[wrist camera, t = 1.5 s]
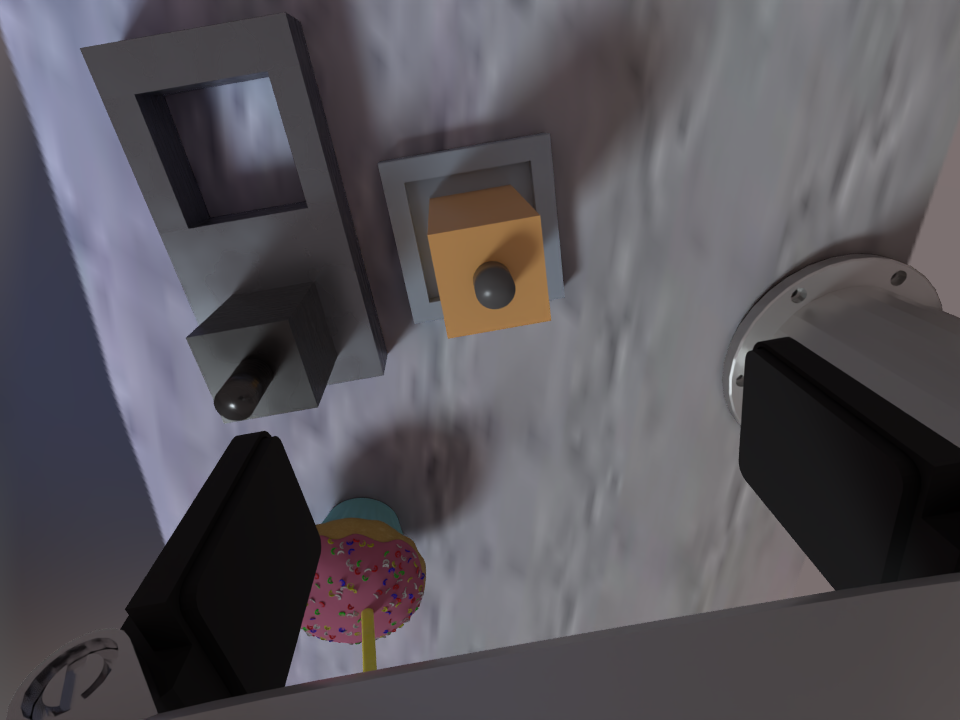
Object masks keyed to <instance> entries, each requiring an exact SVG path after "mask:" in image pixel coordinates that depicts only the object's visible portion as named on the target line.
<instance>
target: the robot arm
mask: <svg viewBox="0 0 960 720" xmlns="http://www.w3.org/2000/svg"><path fill="white" fill-rule="evenodd" d="M722 384H723V393H724V398H725V401H726V404H727V406H728V409H729V411H730V413H731V414H732V416H733V417H734V419H735V420H736V421H737V423H738V424H739V425H740V426H741V431H740V447H739V467H740V471H741V473H742V475H743V477H744V479H745V480H746V482H747V483H748V484H749V485H750V486H751V488H752V489H753V490H754V491H755V493H756V494H757V495H758V496H759V497H760V499H761V500H762V501H763V502H764V504H765V505H766V506H767V507H768V509H769V510H770V511H771V512H772V513H773V515H774V516H775V517H776V518H777V520H778V521H779V522H780V523H781V524H782V526H783V527H784V528H785V529H786V531H787V532H788V533H789V534H790V535H791V537H792V538H793V539H794V540H795V542H796V543H797V544H798V545H799V547H800V548H801V549H802V550H803V551H804V553H805V554H806V555H807V556H808V557H809V559H810V560H811V561H812V562H813V564H814V565H815V566H816V567H817V569H818V570H819V571H820V572H821V574H822V575H823V576H824V577H825V578H826V580H827V581H828V582H829V583H830V585H831V586H832V587H833V588H834V589H835V591H831V592H826V593H819V594H813V595H808V596H801V597H795V598H789V599H783V600H777V601H771V602H765V603H759V604H753V605H747V606H741V607H735V608H729V609H723V610H717V611H711V612H706V613H700V614H694V615H688V616H682V617H676V618H670V619H664V620H658V621H652V622H647V623H641V624H635V625H629V626H623V627H617V628H612V629H606V630H600V631H594V632H588V633H583V634H577V635H571V636H565V637H560V638H554V639H548V640H542V641H537V642H531V643H525V644H519V645H514V646H508V647H502V648H496V649H491V650H485V651H479V652H473V653H468V654H462V655H457V656H451V657H446V658H440V659H434V660H429V661H423V662H418V663H412V664H406V665H401V666H395V667H390V668H384V669H379V670H373V671H367V672H362V673H356V674H351V675H345V676H339V677H334V678H328V679H323V680H317V681H312V682H307V683H302V684H297V685H292V686H287V687H285V684H286V680H287V676H288V673H289V669H290V665H291V662H292V658H293V654H294V651H295V647H296V643H297V640H298V636H299V632H300V629H301V625H302V621H303V618H304V614H305V610H306V607H307V603H308V599H309V596H310V592H311V588H312V584H313V581H314V577H315V573H316V570H317V566H318V562H319V559H320V555H321V539H320V535H319V532H318V530H317V528H316V525H315V523H314V520H313V518H312V515H311V513H310V510H309V508H308V505H307V503H306V501H305V498H304V496H303V493H302V491H301V488H300V486H299V483H298V481H297V478H296V476H295V474H294V471H293V469H292V466H291V464H290V461H289V459H288V456H287V454H286V451H285V449H284V447H283V444H282V442H281V440H280V439H279V437H277V436H274V437H271V435H270V434H269V433H268V432H266V431H261V432H255V433H250V434H244V435H239V436H235V437H234V438H233V439H232V441H231V443H230V444H229V446H228V447H227V449H226V450H225V452H224V454H223V455H222V457H221V458H220V460H219V462H218V463H217V465H216V466H215V468H214V469H213V471H212V473H211V474H210V476H209V477H208V479H207V480H206V482H205V484H204V485H203V487H202V488H201V490H200V492H199V493H198V495H197V496H196V498H195V499H194V501H193V503H192V504H191V506H190V507H189V509H188V511H187V512H186V514H185V515H184V517H183V518H182V520H181V522H180V523H179V525H178V526H177V528H176V529H175V531H174V533H173V534H172V536H171V537H170V539H169V541H168V542H167V544H166V545H165V547H164V549H163V550H162V552H161V553H160V555H159V556H158V558H157V560H156V561H155V563H154V564H153V566H152V567H151V569H150V571H149V572H148V574H147V576H146V577H145V579H144V580H143V582H142V583H141V585H140V586H139V588H138V590H137V591H136V593H135V594H134V596H133V597H132V599H131V601H130V602H129V604H128V605H127V607H126V609H125V610H126V611H127V613H128V614H129V616H128V618H127V619H126V621H125V622H124V624H123V626H122V627H121V629H120V630H119V629H116V628H107V629H99V630H96V631H93V632H90V633H87V634H84V635H82V636H80V637H78V638H76V639H74V640H72V641H70V642H69V643H67V644H65V645H63V646H62V647H61V648H59V649H58V650H56V651H55V652H54V653H52V654H51V655H49V656H48V657H47V658H46V659H44V661H42V662H41V663H40V664H39V665H38V666H37V667H36V668H35V669H34V670H33V671H32V672H31V673H30V674H29V675H28V676H27V677H26V679H25V680H24V681H23V682H22V684H21V685H20V686H19V687H18V689H17V690H16V692H15V694H14V696H13V698H12V700H11V702H10V704H9V706H8V712H7V718H6V720H960V318H958V317H956V316H954V315H951V314H949V313H946V312H944V311H942V304H941V302H940V299H939V297H938V294H937V292H936V289H935V288H934V287H933V286H932V285H931V283H930V282H929V280H928V279H927V278H926V277H925V276H924V275H923V274H921V273H920V272H918V271H917V270H916V269H914V268H913V267H911V266H909V265H907V264H904V263H901V262H899V261H896V260H893V259H891V258H886V257H882V256H878V255H874V254H849V255H843V256H838V257H832V258H829V259H826V260H823V261H820V262H817V263H814V264H812V265H809V266H807V267H805V268H803V269H801V270H800V271H798V272H796V273H794V274H792V275H790V276H788V277H787V278H786V279H784V280H783V281H782V282H780V283H779V284H778V285H776V286H775V287H774V288H772V289H771V290H770V291H769V292H768V293H767V294H766V295H765V296H764V297H763V298H762V299H761V300H760V301H759V302H758V303H757V304H756V305H755V306H754V307H753V308H752V309H751V310H750V312H749V313H748V314H747V316H746V317H745V318H744V320H743V321H742V322H741V324H740V325H739V327H738V329H737V331H736V333H735V335H734V337H733V339H732V341H731V342H730V345H729V348H728V351H727V354H726V358H725V361H724V367H723V376H722Z"/></svg>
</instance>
